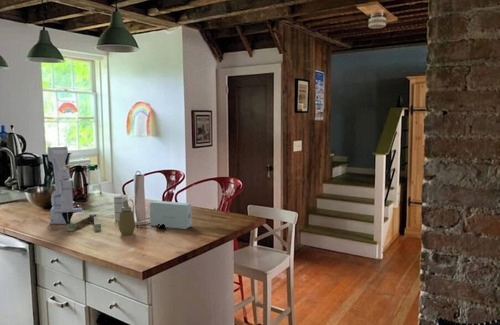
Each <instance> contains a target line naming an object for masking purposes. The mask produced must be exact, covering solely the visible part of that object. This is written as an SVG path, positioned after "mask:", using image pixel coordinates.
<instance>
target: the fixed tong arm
mask: <svg viewBox="0 0 500 325" xmlns="http://www.w3.org/2000/svg"><path fill="white" fill-rule="evenodd" d="M88 216H90V223H93V226H94V232H98V231H102V222H101V221H99V218H98V214H96V213H92V214H88ZM90 223H89V224H90Z"/></svg>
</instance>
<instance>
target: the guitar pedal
mask: <svg viewBox="0 0 500 325" xmlns="http://www.w3.org/2000/svg"><path fill="white" fill-rule="evenodd" d="M149 223H150V226H154V227H156V226H155V225H158V224H164V225H165V227H164V228H173V229H181V230H182V229H184V230H186V229H188V228H190V227H191V226H192V224H193V223H192V204H191V203H189V202H181V201H180V202H179V201H177V202H176V201H168V200H167V201H164V200H155V201H152V202H150V203H149Z"/></svg>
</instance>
